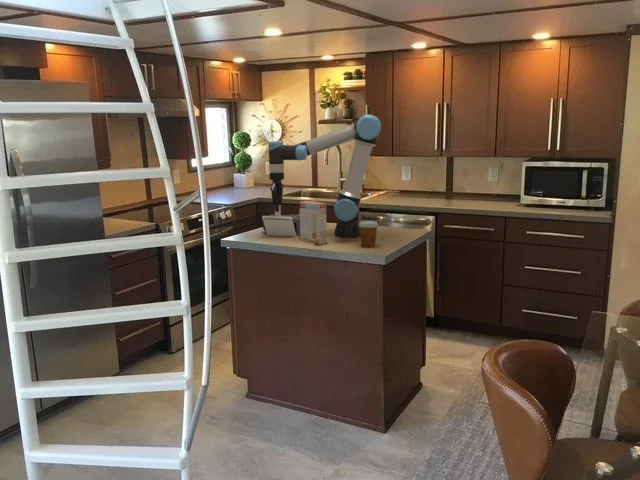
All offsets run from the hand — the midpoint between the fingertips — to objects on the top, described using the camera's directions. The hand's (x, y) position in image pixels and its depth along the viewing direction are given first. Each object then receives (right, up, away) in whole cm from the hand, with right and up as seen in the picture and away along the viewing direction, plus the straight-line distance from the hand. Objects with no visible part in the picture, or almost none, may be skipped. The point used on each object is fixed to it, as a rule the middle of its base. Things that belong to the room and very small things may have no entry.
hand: (278, 217), depth 304 cm
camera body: (+3, -9, +13) cm, 16 cm away
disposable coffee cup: (+46, -15, -16) cm, 51 cm away
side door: (+2, -9, +7) cm, 12 cm away
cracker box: (+19, -13, -7) cm, 24 cm away
